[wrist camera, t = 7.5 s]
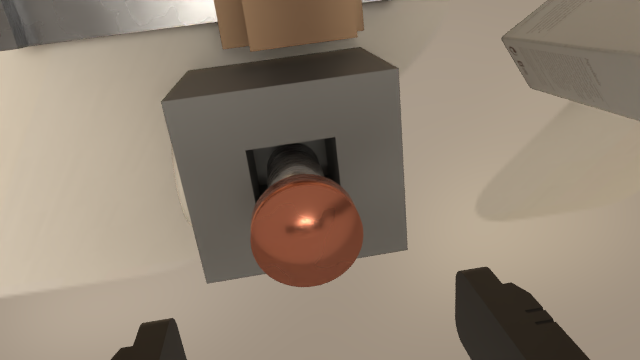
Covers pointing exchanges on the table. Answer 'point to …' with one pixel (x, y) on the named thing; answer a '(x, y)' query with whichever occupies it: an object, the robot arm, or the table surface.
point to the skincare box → (582, 52)
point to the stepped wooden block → (286, 22)
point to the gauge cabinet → (279, 129)
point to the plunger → (303, 221)
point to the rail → (94, 18)
